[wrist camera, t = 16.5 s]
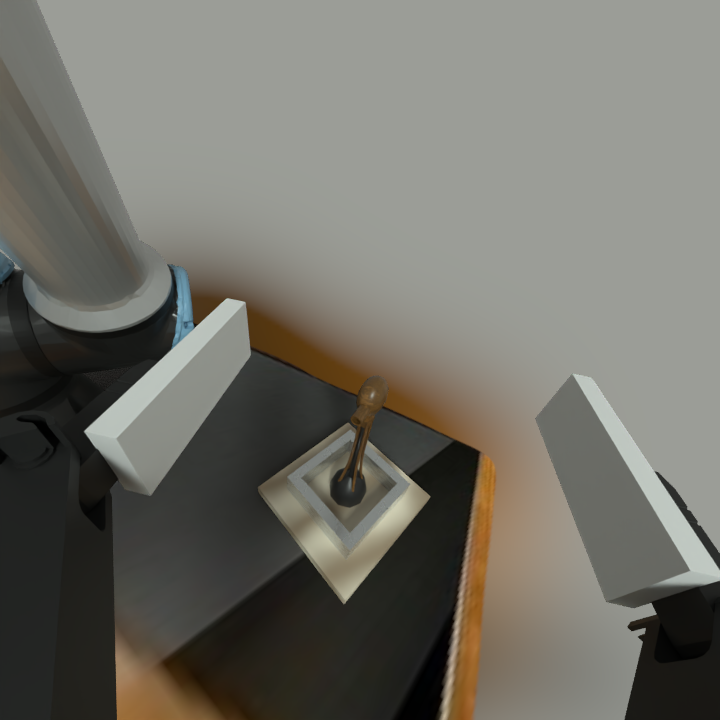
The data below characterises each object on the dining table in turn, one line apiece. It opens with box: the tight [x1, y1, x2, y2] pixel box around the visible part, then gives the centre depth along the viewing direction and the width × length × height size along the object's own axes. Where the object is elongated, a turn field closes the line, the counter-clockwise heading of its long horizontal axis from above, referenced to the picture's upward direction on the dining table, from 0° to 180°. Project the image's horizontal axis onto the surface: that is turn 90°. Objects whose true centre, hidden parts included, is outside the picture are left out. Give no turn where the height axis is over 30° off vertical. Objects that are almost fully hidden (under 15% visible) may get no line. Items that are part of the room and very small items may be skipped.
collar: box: [287, 430, 410, 560], centre depth 38 cm, size 11×11×3 cm
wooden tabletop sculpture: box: [330, 376, 388, 508], centre depth 33 cm, size 6×5×20 cm
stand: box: [258, 423, 430, 604], centre depth 40 cm, size 16×16×2 cm
